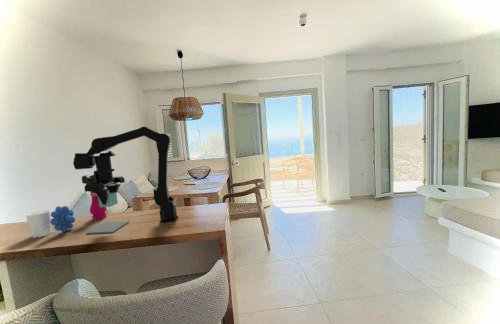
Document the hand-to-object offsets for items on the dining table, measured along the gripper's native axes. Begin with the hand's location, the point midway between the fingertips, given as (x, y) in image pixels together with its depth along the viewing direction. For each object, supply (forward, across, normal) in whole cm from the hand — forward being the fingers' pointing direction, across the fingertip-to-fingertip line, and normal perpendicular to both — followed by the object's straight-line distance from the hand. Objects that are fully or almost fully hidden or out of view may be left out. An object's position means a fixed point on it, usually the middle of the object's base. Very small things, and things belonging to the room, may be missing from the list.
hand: (108, 202), depth 108 cm
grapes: (+12, +1, -20) cm, 23 cm away
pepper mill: (+12, -16, -16) cm, 26 cm away
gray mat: (+12, 0, -2) cm, 12 cm away
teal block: (+1, 0, 0) cm, 1 cm away
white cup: (+12, +3, -30) cm, 32 cm away
